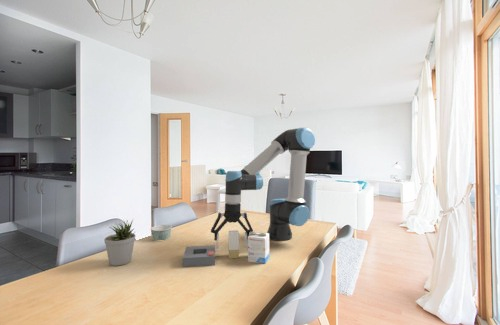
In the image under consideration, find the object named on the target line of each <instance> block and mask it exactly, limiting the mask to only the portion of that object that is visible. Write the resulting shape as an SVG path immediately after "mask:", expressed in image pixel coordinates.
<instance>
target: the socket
mask: <svg viewBox="0 0 500 325" xmlns="http://www.w3.org/2000/svg"><path fill="white" fill-rule="evenodd" d="M206 266H207V267H208V266H216V245H214V244H213V245H195V246H194V245H193V246H186V247H185V250H184V252H183V256H182V268H190V267H191V268H193V267H206Z"/></svg>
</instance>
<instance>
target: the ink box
mask: <svg viewBox="0 0 500 325" xmlns="http://www.w3.org/2000/svg"><path fill="white" fill-rule="evenodd" d="M270 254H271V253H270V239H269V233H267V232H260V231H259V232H258V231H253V232H250V233H249V236H248V240H247V262H250V263H257V262H258V263H257V264H264V263H265V264H267V263H268V260H269V259H270Z"/></svg>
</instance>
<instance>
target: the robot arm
mask: <svg viewBox="0 0 500 325" xmlns="http://www.w3.org/2000/svg"><path fill="white" fill-rule="evenodd" d="M315 143H316V137H315V134H314V132H313V131H312V130H311V129H310V128H308V127H297V128H292V129H287V130H284V131H283V132H282V133H280V134H279V135H278V136H277V137H276V138H274V139H273V140H272V141H271V142H270V145H269V146H268V147H266V148H265V149H264V150H263V151H262V152H261V153H259V154H258V155H257V156H256V157H255V158H254V159H252V160H251V161H250V162H249V163H248V164H247V165H246V166H244V167H243V168H242V169H241V170H228V171H226V172H225V180H224V181H225V191H224V192H225V193H224V194H225V196H224V197H225V198H224V202H225V204H224V212H223V213H222V212H218V213H217V218H216V219H215V221H214V223H213V225H212V227H211V229H210V233H212V234H214V241H216V249H218V248H219V236H220V235H219V232H220V231H221V229H222V228H223V227H224V226H225V225H227V223H238V224H239V225H240V226H241V228H242V229H243V230H244V242H243V243H244V247H245V248H248V236H249V235H250V234H251V233H250V232H254V229H253V227H252V225H251V224H250V221H249V219H248V215H247V214H248V213H247V212H242V213H241V202H242V200H241V199H242V196H241V195H242V191H258V190H262V188H263V187H264V178H263V177H262V175H259V173H260V172H261V171H262V170H264V168H265V167H267V166H268V165H269V164H270V163H271V162H272V161H273V160H275V159H276V158H277V157H278V156H279V155H283V153H285V152H286V151H288V152H289V153H290V167H289V177H288V178H289V180H288V192H287V197H285V198H273V199H270V202H269V226H268V229H267V231H266V233H269V240H272V241H280V242H281V241H288V240H291V239H292V238H293V232H292V229H291V226H295V227H302V226H304V225H306V223H307V222H308V220H309V219H310V215H311V214H310V210H309V207H307V206H306V204H307V202H306V200H305V199H304V196H305V183H306V172H307V171H306V170H307V156H308V155H309V154H310V153H311V149H312V148H313V147H314V145H315ZM223 217H224V219H223V221H222V222H221V223H220V224H219V222H220V220H221V219H222V218H223ZM241 217H242V218H244V220H245V223H246V225H247V226H246V225H245V224H244V223H243V222H242V220H241V219H240V218H241ZM218 224H219V225H218ZM290 225H291V226H290ZM217 226H218V227H217ZM247 227H248V228H247Z"/></svg>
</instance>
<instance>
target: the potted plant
mask: <svg viewBox="0 0 500 325" xmlns="http://www.w3.org/2000/svg"><path fill="white" fill-rule="evenodd" d="M128 221H129V220H128V219H126V221H124V220H123V223H124V225H123V224H122V223H120V222H119V223H115V225H116V226H113V225H111V226H109V228H110V229H111V230H112V231H114V232H115V233H114V234H111V235H108V236H106V237H105V238H104V244H105V249H106V253H107V258H108V263H109V265H110V266H114V267H117V266H123V265H127V264H128V263H130V262H131V261H132V258H133V251H134V247H135V246H134V245H135V240H136V234H135V233H136V232H137V231H134V229H135V228H133V229H132V228H131V227H132V224H133V221H134V219H132V220H131V222H130V223H129V222H128ZM119 226H120V227H119ZM133 231H134V232H133ZM132 232H133V233H132Z"/></svg>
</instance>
